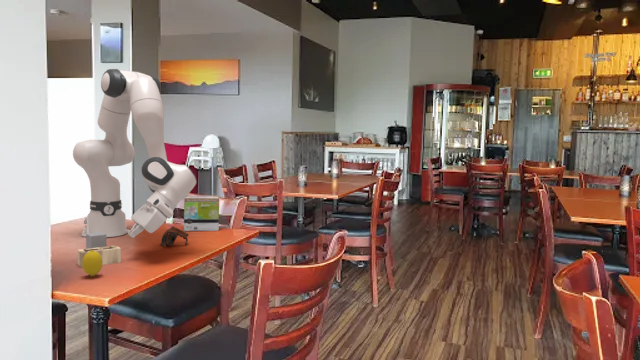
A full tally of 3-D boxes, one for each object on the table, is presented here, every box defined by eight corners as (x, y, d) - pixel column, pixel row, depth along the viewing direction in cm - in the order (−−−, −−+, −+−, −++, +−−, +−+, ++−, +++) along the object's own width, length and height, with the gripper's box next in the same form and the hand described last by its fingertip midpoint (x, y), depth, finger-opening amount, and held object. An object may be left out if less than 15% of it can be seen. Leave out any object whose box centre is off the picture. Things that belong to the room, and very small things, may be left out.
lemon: (86, 274, 156) (85, 247, 155) (105, 273, 156) (104, 247, 156) (79, 279, 150) (78, 252, 150) (99, 279, 151) (98, 252, 150)
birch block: (116, 260, 174) (77, 265, 167) (116, 244, 173) (77, 249, 166) (120, 263, 170) (81, 268, 163) (120, 247, 170) (81, 252, 162)
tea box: (183, 231, 223) (183, 197, 221) (184, 227, 232) (184, 194, 231) (219, 231, 226) (219, 197, 225) (218, 226, 236) (218, 194, 235)
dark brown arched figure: (160, 244, 201) (171, 225, 202) (182, 255, 201) (193, 236, 203) (154, 242, 189) (166, 222, 191) (178, 254, 189) (189, 234, 191)
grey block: (86, 257, 176) (85, 233, 176) (101, 254, 180) (101, 232, 179) (91, 259, 173) (91, 236, 172) (106, 257, 176) (106, 234, 175)
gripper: (145, 195, 184) (116, 224, 180) (161, 203, 167) (129, 235, 163) (158, 207, 187) (130, 236, 183) (174, 215, 170) (144, 248, 166)
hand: (130, 236), depth 173 cm, fingers closed
